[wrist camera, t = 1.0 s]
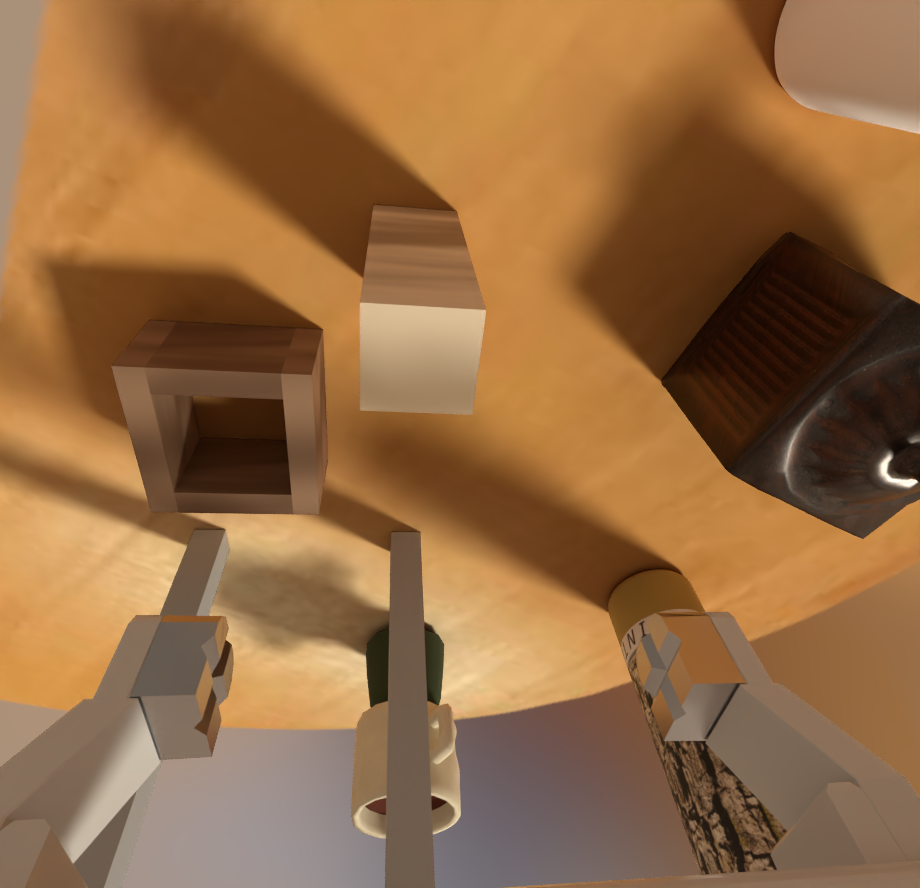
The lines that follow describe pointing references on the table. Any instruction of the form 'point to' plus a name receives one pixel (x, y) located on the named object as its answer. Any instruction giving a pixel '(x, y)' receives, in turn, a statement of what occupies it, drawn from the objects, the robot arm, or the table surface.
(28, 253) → the table surface
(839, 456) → the manual coffee grinder
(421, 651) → the u-shaped bar frame
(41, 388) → the table surface
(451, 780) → the character mug
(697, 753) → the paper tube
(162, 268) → the table surface
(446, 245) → the peg
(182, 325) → the socket
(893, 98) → the can
